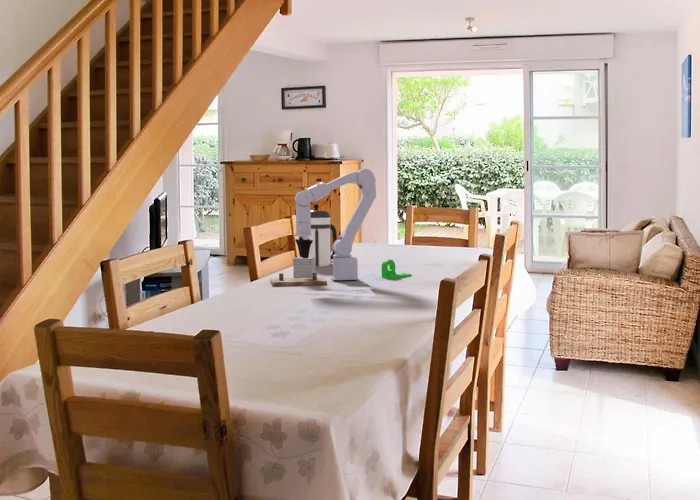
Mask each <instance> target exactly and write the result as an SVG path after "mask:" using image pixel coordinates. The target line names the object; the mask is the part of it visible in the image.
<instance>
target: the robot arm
mask: <svg viewBox="0 0 700 500" xmlns="http://www.w3.org/2000/svg"><path fill="white" fill-rule="evenodd" d="M376 181H377V178H376V177H375V174H374V172H373V171H372V170H371V169H369V168H363V169H359V170H356V171H352V172H349V173H345V174H344V175H341V176H339V177H337V178H335V179H333V180H331V181H329V182H327V183H326V182H324V181H321V182H320V181H318V182H315V184H314V185H313V186H309V187H305V188H304V190H301V191H299V192H297V193H296V194H295V197H294V203H295V232H296V233H292V235H293V237H298V239H297V238H295V239H294V241H295V243H296V245H297V249H298V254H299V258H308V256H309V251H310V246H311V244H312V242H313V240H310V239H309V236H312V234H311V211H310V210H311V203H315V202H317V201H319V200H321V199H323V198H326V197H328V196H329V194H330V192H331V191H332V190H334V189H337V188H340V187H343V186H344V185H347V184H356V185H357V186H358V187H359V190H360V191H361V195H362V196H361V198H360V199H359V202H358V204H357V205H356V208H355V209H354V211H353V213H352V215H351V217H350V219H349V220H348V222H347V224H346V226H345V228H344V229H343V231H342V233H341V234H340V235H339V237H338V238H337V240H336V241H335V242H334V243H333V242H332V251H333V250H334V252H335V254H334V255H333V259H332V272H333V273H332V277H330V279H331V280H333V281H353V280H354V281H355V280H356V281H357V280H359V277H358V276H359V275H358V274H359V273H358V269H359V268H358V267H359V266H358V265H359V264H358V257H357V256H353V255H352V254H351V252H352V249H353V243H354V242H355V239H356V235H357V233H358V231H359V229H360V227H361V225H362V224H363V222H364V220H365V218H366V217H367V215H368V214H369V213H368V212H369V211H370V208H371V207H372V205H373V203H374V201H375V199H376V196H377V189H376V188H377V187H376V185H377V184H376Z"/></svg>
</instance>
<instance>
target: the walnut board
mask: <svg viewBox="0 0 700 500" xmlns="http://www.w3.org/2000/svg"><path fill="white" fill-rule="evenodd" d="M269 280H270V281H269V282H270V285H271V286H272V288H273V287H275V288H276V287H303V286H305V287H306V286H308V287H309V286H328V281H327V280H326V279H325V278H324V277H323V276H321V277H318V273H317V272H315V273H313V278H294V277H286V278H285V277H284V273H282V272H281V273H278V278H269Z"/></svg>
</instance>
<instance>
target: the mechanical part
mask: <svg viewBox="0 0 700 500" xmlns="http://www.w3.org/2000/svg"><path fill="white" fill-rule="evenodd" d="M411 276H412V273H407V272H400V273H399V272H398V273H397V272H396V262H395V261H394V260H393V259H384V260H383V261H382V263H381V278H384V279H388V280H398V279H402V278H409V277H411Z"/></svg>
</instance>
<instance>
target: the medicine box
mask: <svg viewBox="0 0 700 500" xmlns="http://www.w3.org/2000/svg"><path fill="white" fill-rule="evenodd" d="M292 262H293V265H292V267H293V269H292V271H293V278H313V273H316V266H315V258H302V257H293V259H292Z"/></svg>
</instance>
